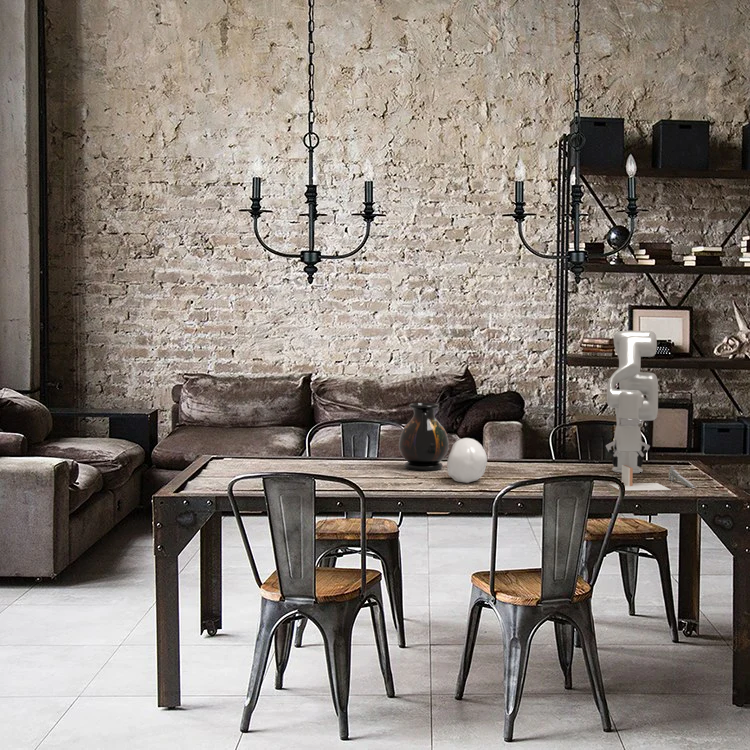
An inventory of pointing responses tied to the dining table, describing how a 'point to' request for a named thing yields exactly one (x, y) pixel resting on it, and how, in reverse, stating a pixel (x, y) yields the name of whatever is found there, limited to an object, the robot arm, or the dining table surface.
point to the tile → (627, 475)
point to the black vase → (423, 439)
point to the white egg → (466, 460)
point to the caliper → (678, 477)
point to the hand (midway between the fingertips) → (627, 466)
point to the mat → (643, 486)
